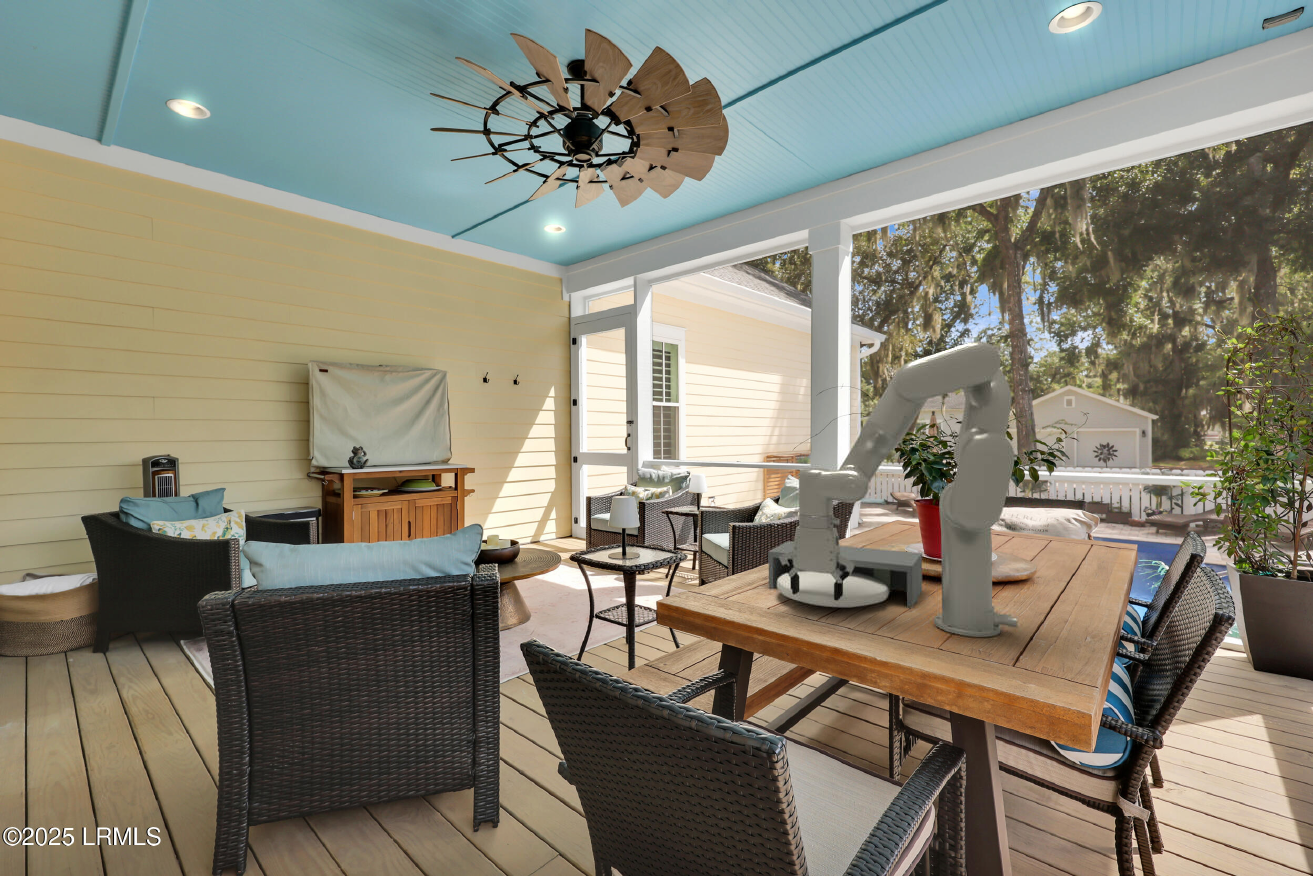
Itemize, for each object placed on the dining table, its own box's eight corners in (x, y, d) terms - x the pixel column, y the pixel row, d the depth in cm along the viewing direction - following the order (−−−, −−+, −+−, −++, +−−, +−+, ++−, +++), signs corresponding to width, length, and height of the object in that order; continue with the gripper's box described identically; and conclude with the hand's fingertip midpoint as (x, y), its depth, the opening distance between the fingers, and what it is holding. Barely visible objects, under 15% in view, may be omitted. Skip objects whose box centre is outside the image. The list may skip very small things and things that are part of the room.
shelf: (922, 591, 153) (921, 553, 153) (912, 607, 139) (912, 566, 139) (788, 575, 172) (788, 541, 172) (768, 588, 158) (768, 551, 158)
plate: (806, 561, 167) (903, 575, 150) (805, 584, 166) (902, 601, 150) (757, 572, 145) (864, 589, 128) (756, 598, 145) (864, 619, 128)
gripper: (858, 522, 133) (858, 597, 133) (785, 517, 142) (785, 587, 143) (850, 527, 127) (850, 606, 127) (774, 521, 136) (774, 594, 136)
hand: (816, 596), depth 135 cm, fingers open, 9 cm apart
